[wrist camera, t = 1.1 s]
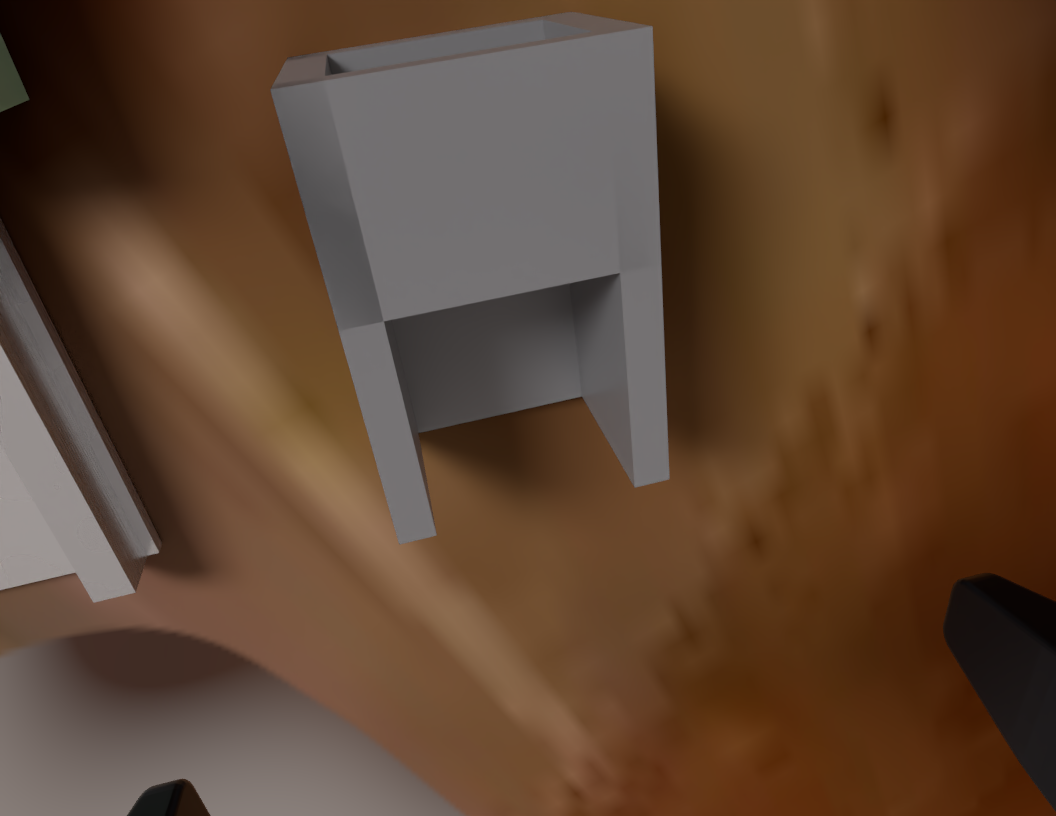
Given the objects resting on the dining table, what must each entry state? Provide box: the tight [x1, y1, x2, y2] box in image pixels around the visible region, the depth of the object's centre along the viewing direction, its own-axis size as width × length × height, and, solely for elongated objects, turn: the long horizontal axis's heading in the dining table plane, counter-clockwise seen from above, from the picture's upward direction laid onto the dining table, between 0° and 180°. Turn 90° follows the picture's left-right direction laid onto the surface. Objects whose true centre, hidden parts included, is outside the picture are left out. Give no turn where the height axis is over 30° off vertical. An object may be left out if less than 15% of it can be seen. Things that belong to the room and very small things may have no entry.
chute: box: [270, 12, 669, 544], centre depth 16 cm, size 6×9×5 cm, turn 8°
